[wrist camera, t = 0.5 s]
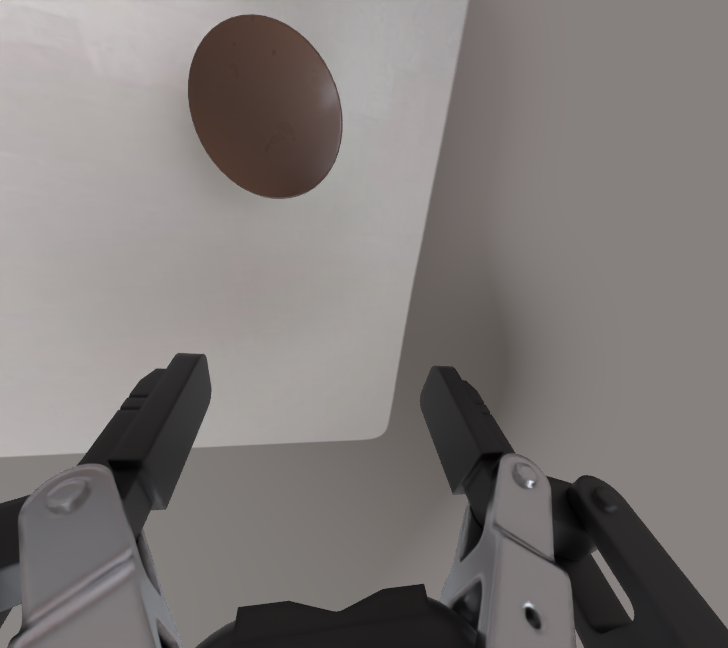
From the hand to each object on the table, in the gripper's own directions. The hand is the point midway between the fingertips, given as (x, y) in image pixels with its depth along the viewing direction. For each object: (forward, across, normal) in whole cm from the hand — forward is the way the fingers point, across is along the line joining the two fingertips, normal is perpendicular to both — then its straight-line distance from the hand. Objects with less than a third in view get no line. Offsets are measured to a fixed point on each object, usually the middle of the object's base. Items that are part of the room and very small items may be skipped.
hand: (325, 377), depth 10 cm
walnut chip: (+10, +3, -8) cm, 12 cm away
